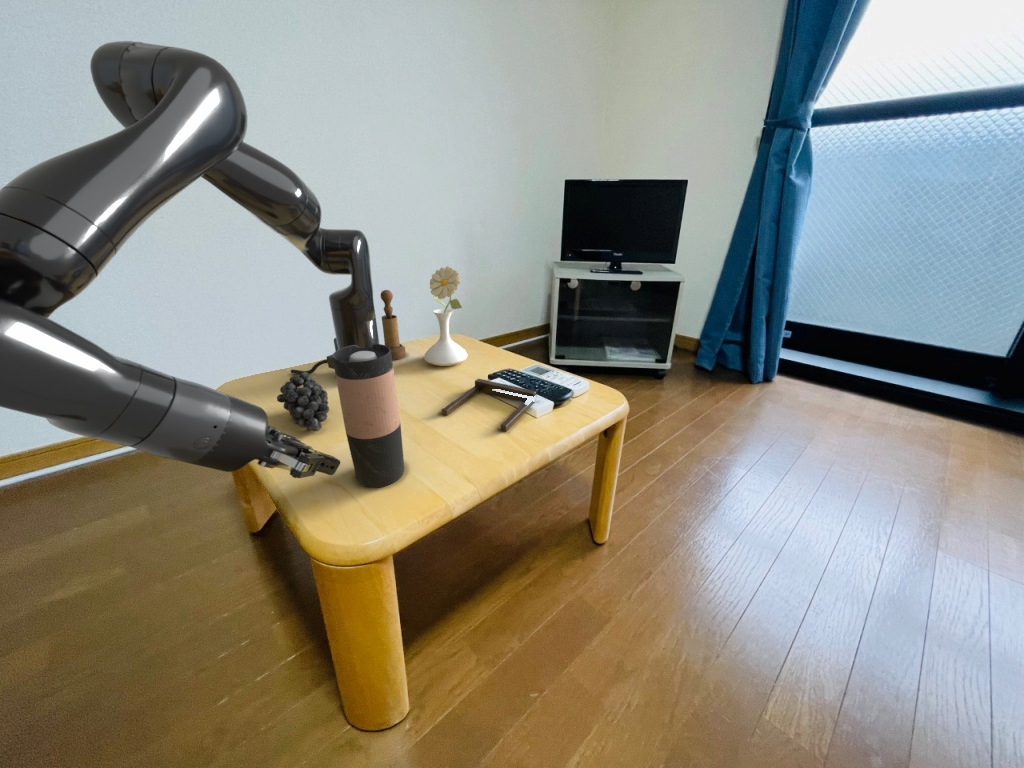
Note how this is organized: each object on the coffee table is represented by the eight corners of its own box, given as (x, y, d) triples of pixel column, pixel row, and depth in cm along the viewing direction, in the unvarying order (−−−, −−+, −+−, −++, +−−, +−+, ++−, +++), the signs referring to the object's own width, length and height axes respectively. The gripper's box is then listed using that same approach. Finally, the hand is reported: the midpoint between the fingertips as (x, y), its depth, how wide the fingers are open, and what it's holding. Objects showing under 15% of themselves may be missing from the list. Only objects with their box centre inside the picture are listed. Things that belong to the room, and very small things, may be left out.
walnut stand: (442, 414, 78) (441, 403, 77) (478, 388, 90) (478, 378, 89) (506, 431, 73) (506, 420, 72) (536, 401, 84) (536, 391, 83)
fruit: (319, 390, 66) (309, 360, 78) (270, 415, 64) (267, 380, 75) (344, 427, 71) (331, 394, 83) (299, 452, 69) (292, 414, 80)
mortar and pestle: (399, 361, 104) (391, 293, 97) (376, 359, 106) (367, 292, 98) (409, 353, 110) (403, 288, 103) (388, 351, 112) (380, 287, 104)
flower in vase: (416, 360, 105) (407, 264, 95) (451, 351, 112) (446, 260, 102) (443, 375, 96) (437, 270, 86) (480, 364, 103) (478, 266, 93)
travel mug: (378, 496, 56) (356, 366, 48) (344, 477, 60) (318, 354, 51) (416, 468, 62) (403, 349, 54) (383, 453, 66) (366, 339, 57)
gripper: (251, 411, 37) (378, 458, 51) (199, 377, 44) (322, 426, 58) (203, 485, 35) (348, 513, 49) (157, 437, 42) (295, 473, 57)
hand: (334, 466), depth 54 cm, fingers closed
